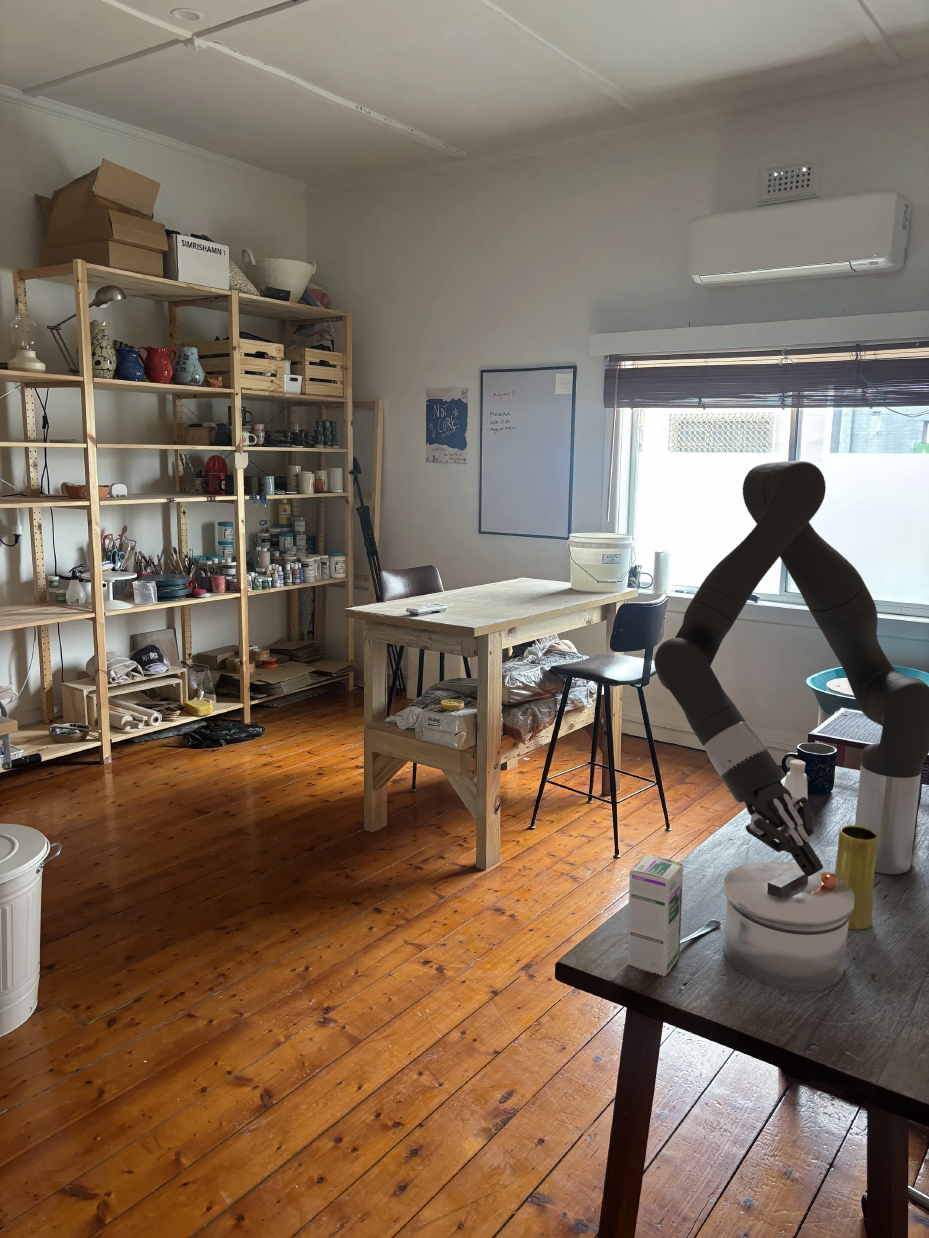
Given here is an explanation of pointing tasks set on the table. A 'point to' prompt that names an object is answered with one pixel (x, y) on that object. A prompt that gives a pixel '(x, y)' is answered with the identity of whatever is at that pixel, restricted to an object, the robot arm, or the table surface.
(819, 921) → the pot lid
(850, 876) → the vase
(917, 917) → the table surface
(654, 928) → the syrup box
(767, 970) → the steel pot
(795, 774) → the pepper shaker
